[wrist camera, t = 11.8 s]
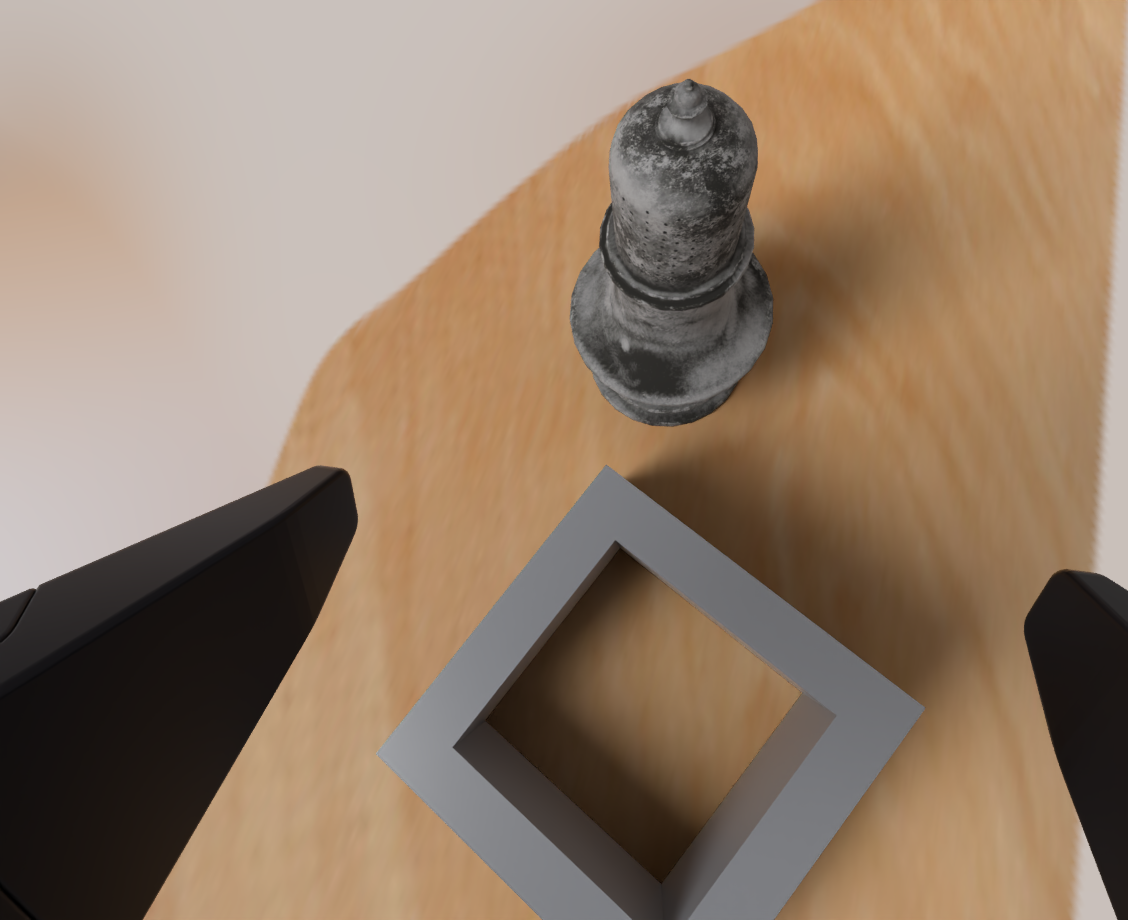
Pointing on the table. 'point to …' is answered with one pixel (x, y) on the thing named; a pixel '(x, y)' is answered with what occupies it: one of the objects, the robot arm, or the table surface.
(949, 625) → the table surface
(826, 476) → the table surface
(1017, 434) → the table surface
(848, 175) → the table surface
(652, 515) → the socket block
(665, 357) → the salt shaker
